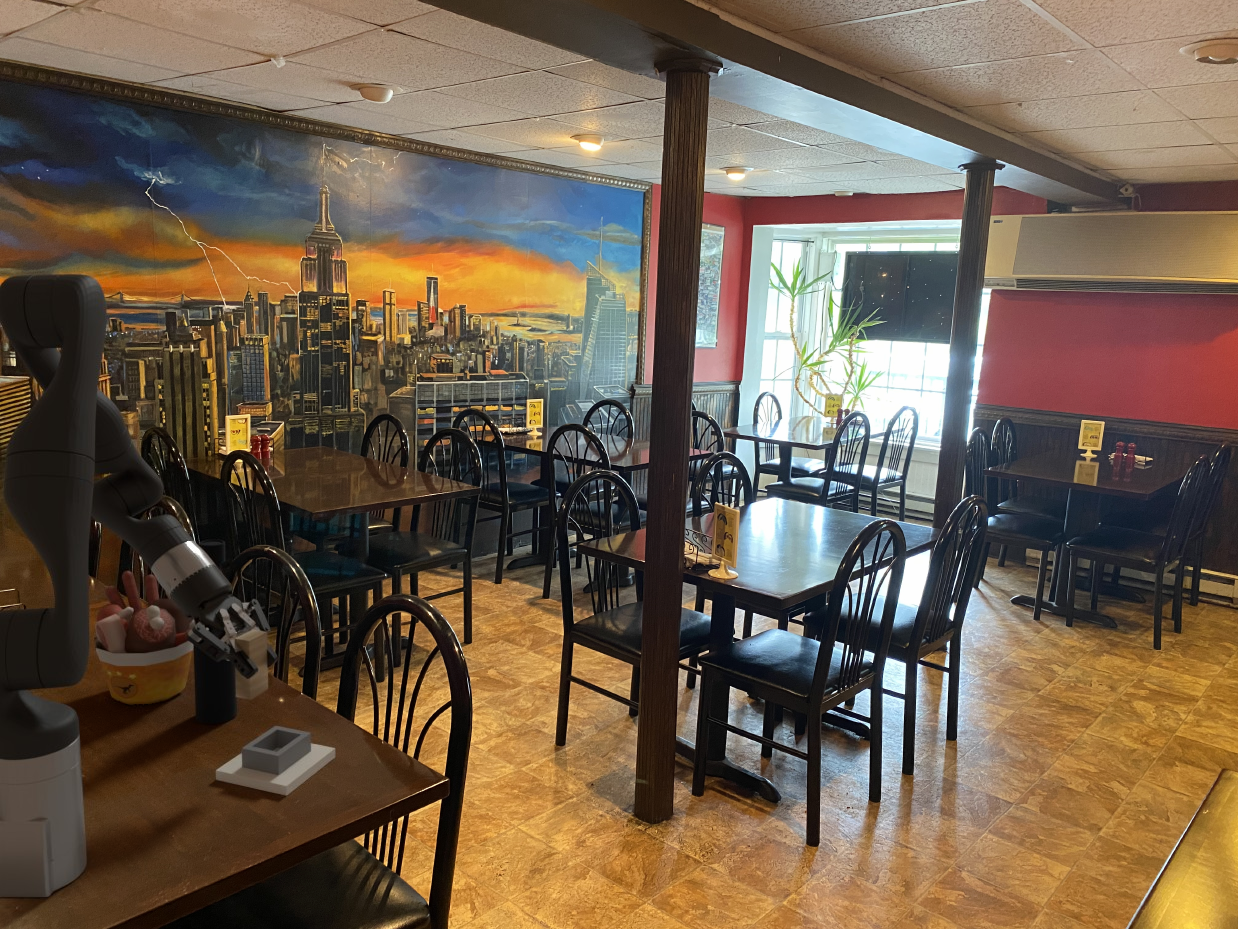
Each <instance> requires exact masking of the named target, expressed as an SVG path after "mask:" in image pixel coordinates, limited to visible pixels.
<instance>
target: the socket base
mask: <svg viewBox="0 0 1238 929" xmlns="http://www.w3.org/2000/svg"><path fill="white" fill-rule="evenodd" d="M335 758H336V748H335V747H331V746H326V745H322V744H315V743H312V732H309V731H304V730H299V729H295V728H288V727H284V726H279V725H274V726H273V727H271V728H270V729H268V730H267V731H265V732H264V733H262V734H261V735H259V736H258V737H257V738H255V739H254V740H252V741H250V742H249V743H247V744H246V745H245V746H243V747H241V753H239V754H238V755H236V756H235V757H234V758H232V759H230V760H229V761H228V762H226V763H225V764H223V765H221V766H220V767H219V768H216V770H215V780H216V781H219V782H224V783H228V784H234V785H238V786H242V787H247V788H251V789H255V790H260V791H263V792H264V791H265V792H269V793H273V794H277V795H282V796H286V797H287V796H289V795H290V794H291V793H293V791H295V790H296V789H297V788H299V787H300V786H301V785H302V784H304V783H305V782H306V781H307V780H309V779H310V778H312V776H314V775H315V774H316V773H318V772H319V771H320V770H321V769H323V768H324V767H325V766H326V765H328V764H329V763H330V762H331V761H333V760H334V759H335Z"/></svg>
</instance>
